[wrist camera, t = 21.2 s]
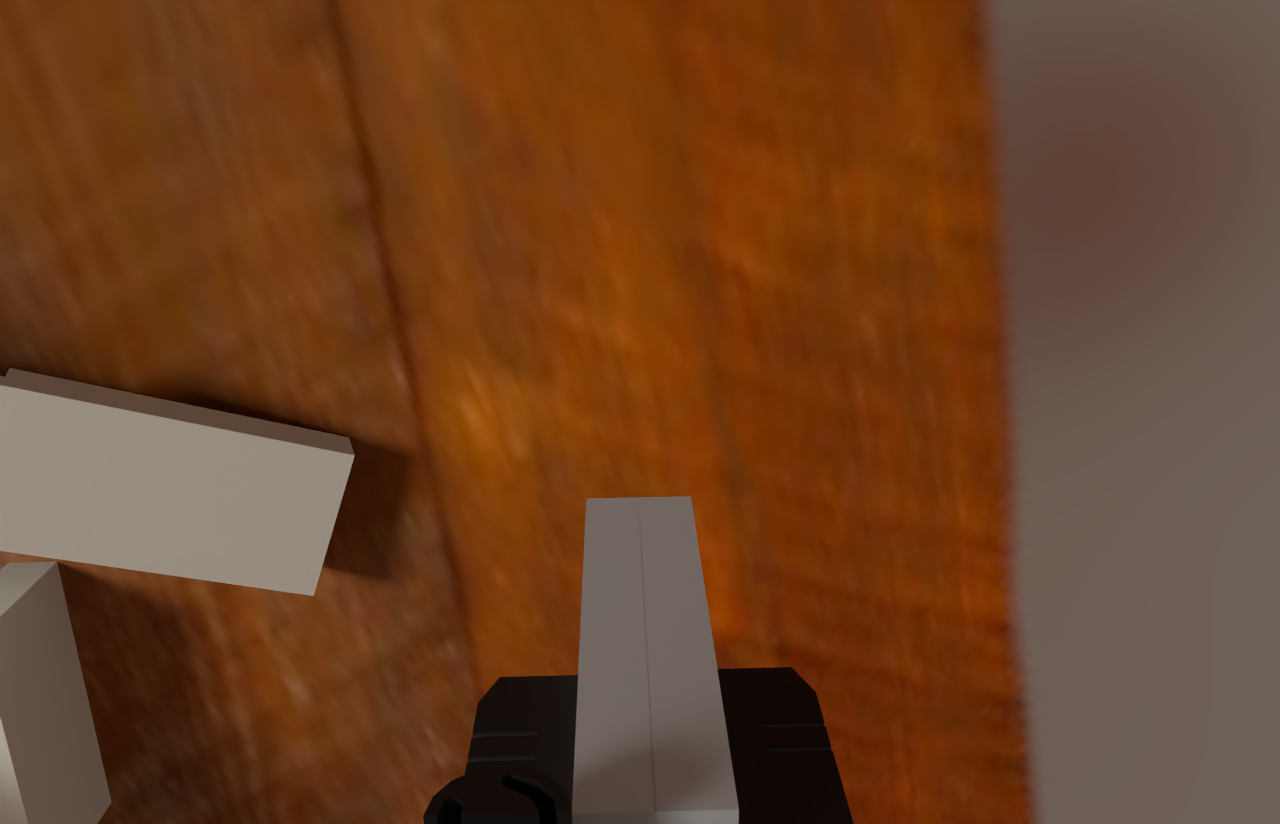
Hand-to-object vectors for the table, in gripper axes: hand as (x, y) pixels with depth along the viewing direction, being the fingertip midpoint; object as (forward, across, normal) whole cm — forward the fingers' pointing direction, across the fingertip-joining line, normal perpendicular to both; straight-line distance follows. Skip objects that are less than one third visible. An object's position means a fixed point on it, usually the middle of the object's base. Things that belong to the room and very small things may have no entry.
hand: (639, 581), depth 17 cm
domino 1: (+24, -24, -14) cm, 37 cm away
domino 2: (+26, -12, -11) cm, 30 cm away
